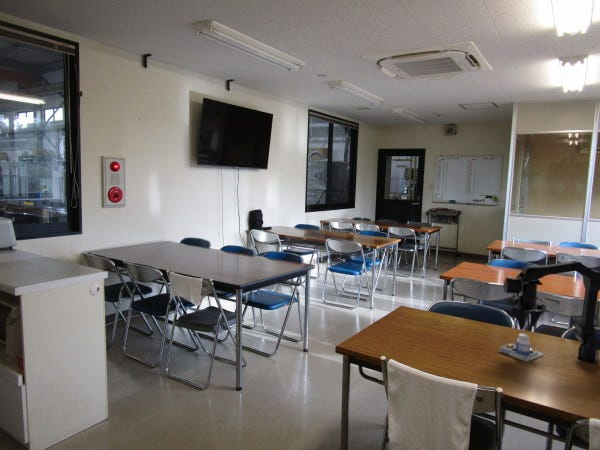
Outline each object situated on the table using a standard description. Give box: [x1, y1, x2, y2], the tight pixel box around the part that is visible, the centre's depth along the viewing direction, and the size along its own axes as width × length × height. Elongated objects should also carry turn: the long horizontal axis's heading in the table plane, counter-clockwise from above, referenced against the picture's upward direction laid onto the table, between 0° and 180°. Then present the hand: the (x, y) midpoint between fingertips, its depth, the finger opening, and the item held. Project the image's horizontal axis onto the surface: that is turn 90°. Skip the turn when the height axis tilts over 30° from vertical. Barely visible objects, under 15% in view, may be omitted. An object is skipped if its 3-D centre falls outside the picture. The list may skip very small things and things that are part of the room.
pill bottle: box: [515, 333, 531, 355], centre depth 187 cm, size 6×5×10 cm
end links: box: [499, 342, 544, 362], centre depth 190 cm, size 12×13×3 cm
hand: (527, 328), depth 188 cm, fingers open, 9 cm apart
